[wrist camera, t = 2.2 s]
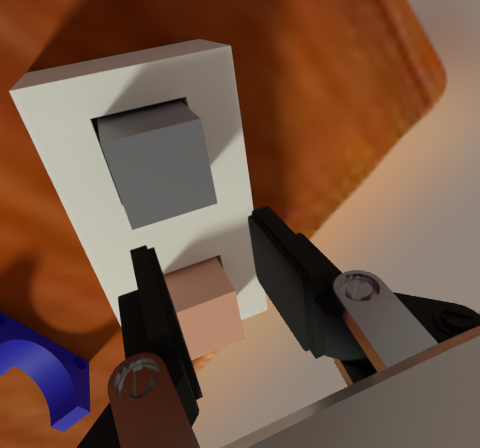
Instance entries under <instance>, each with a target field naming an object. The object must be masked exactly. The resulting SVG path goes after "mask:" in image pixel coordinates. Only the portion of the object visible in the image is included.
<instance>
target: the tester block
mask: <svg viewBox="0 0 480 448" xmlns="http://www.w3.org/2000/svg"><path fill="white" fill-rule="evenodd" d="M9 92H10V94H11V96H12V98H13V100H14V103H15V105H16V107H17V109H18V111H19V113H20V115H21V117H22V119H23V122H24V124H25V126H26V128H27V130H28V132H29V134H30V136H31V138H32V140H33V143H34V145H35V147H36V149H37V151H38V153H39V155H40V157H41V159H42V162H43V164H44V166H45V168H46V170H47V172H48V174H49V176H50V178H51V180H52V183H53V185H54V187H55V189H56V191H57V193H58V195H59V197H60V199H61V202H62V204H63V206H64V208H65V210H66V212H67V214H68V216H69V218H70V221H71V223H72V225H73V227H74V229H75V231H76V233H77V235H78V237H79V239H80V242H81V244H82V246H83V248H84V250H85V252H86V254H87V256H88V258H89V261H90V263H91V265H92V267H93V269H94V271H95V273H96V275H97V277H98V279H99V282H100V284H101V286H102V288H103V290H104V292H105V294H106V296H107V298H108V301H109V303H110V305H111V307H112V309H113V311H114V313H115V315H116V317H117V320H118V322H119V324H120V326H121V320H120V312H119V305H118V296H121V295H123V294H126V293H129V292H132V291H135V290H138V288H137V283H136V278H135V274H134V269H133V264H132V259H131V254H130V250H132V249H135V248H138V247H141V246H144V245H146V246H147V248H148V249H149V248H152V247H154V249H155V252H156V254H157V257H158V260H159V263H160V266H161V269H162V272H163V274H166V273H169V272H172V271H175V270H177V269H180V268H183V267H186V266H189V265H192V264H195V263H198V262H200V261H203V260H206V259H209V258H212V257H215V256H216V257H217V259H218V261H219V263H220V264H221V266H222V268H223V270H224V272H225V273H226V275H227V277H228V279H229V281H230V282H231V284H232V286H233V288H234V290H235V292H236V297H237V302H238V307H239V312H240V317H241V320H243V319H246V318H248V317H251V316H253V315H256V314H258V313H260V312H263V311H266V310H267V303H266V297H265V291H264V289H263V288H262V286H261V285H260V283H259V281H258V279H257V276H256V271H255V264H254V257H253V251H252V244H251V238H250V231H249V224H248V216H250V215H252V211H253V210H254V209H253V202H252V194H251V187H250V180H249V173H248V166H247V158H246V151H245V144H244V137H243V129H242V122H241V115H240V108H239V101H238V93H237V86H236V79H235V72H234V64H233V57H232V50H231V45H226V44H222V43H217V42H212V41H207V40H202V39H196V40H191V41H185V42H180V43H175V44H170V45H165V46H160V47H155V48H150V49H145V50H140V51H135V52H129V53H124V54H119V55H114V56H109V57H104V58H99V59H94V60H89V61H84V62H79V63H73V64H68V65H63V66H58V67H53V68H48V69H43V70H38V71H33V72H28V73H26V74H25V75H24V76H23V77H22V78H21V79H20V80H19V81H18V82H17V83H16V84H15V85H14V86H13V87H12V88H11V89H10V90H9ZM173 99H179V100H180V101H181V102H182V103H183V104H185V105H186V106H187V107H188V108H189V109H190V110H192V111H193V112H194V113H195V114H196V115H197V116H198V117H200V118H201V123H202V128H203V133H204V138H205V143H206V148H207V153H208V158H209V163H210V168H211V173H212V178H213V183H214V188H215V193H216V198H217V204H214V205H211V206H208V207H204V208H201V209H198V210H195V211H192V212H188V213H185V214H182V215H179V216H176V217H172V218H169V219H166V220H163V221H160V222H156V223H153V224H150V225H147V226H144V227H140V228H137V229H134V230H132V228H131V225H130V223H129V220H128V217H127V214H126V212H125V209H124V206H123V204H122V201H121V198H120V195H119V193H118V190H117V187H116V185H115V182H114V179H113V176H112V174H111V171H110V168H109V166H108V163H107V160H106V157H105V155H104V152H103V149H102V147H101V144H100V138H99V131H98V124H97V119H96V117H101V116H105V115H109V114H113V113H118V112H122V111H126V110H131V109H135V108H139V107H143V106H148V105H152V104H156V103H161V102H165V101H169V100H173Z"/></svg>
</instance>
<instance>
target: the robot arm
mask: <svg viewBox="0 0 480 448" xmlns="http://www.w3.org/2000/svg"><path fill="white" fill-rule="evenodd" d="M248 224H249V231H250V238H251V244H252V251H253V257H254V264H255V271H256V276H257V279H258V281H259V283H260V285H261V286H262V288H263V289H264V291H265V292H266V294H267V295H268V297H269V298H270V300H271V301H272V303H273V304H274V306H275V307H276V309H277V310H278V312H279V313H280V315H281V316H282V317H283V319H284V321H285V322H286V324H287V325H288V327H289V328H290V330H291V331H292V333H293V334H294V336H295V337H296V339H297V340H298V342H299V343H300V345H301V346H302V348H303V349H304V350H305V351H308V350H310V351H311V352H312V354H313V355H314V357H315V358H316V359H317V358H318V357H321V356H323V355H326V356H328V357H332V358H333V359H334V361H335V364H336V366H337V368H338V369H339V371H340V373H341V375H342V377H343V378H344V380H345V382H346V384H347V386H348V387H346V388H344V389H342V390H340V391H338V392H336V393H334V394H332V395H329V396H327V397H325V398H323V399H322V400H319V401H317V402H315V403H313V404H311V405H309V406H307V407H304V408H302V409H300V410H298V411H296V412H294V413H292V414H290V415H288V416H286V417H284V418H282V419H280V420H277V421H275V422H273V423H271V424H269V425H267V426H265V427H263V428H261V429H259V430H257V431H255V432H253V433H251V434H249V435H246V436H244V437H242V438H240V439H238V440H236V441H234V442H232V443H230V444H228V445H226V446H224V447H222V448H480V314H478V313H476V312H475V311H474V310H472V309H470V308H468V307H465V306H463V305H458V304H455V303H449V302H444V301H439V300H433V299H428V298H422V297H416V296H410V295H405V294H400V293H394V292H392V291H391V290H390V289H389V288H388V287H387V285H386V284H385V283H384V282H383V281H382V280H381V279H380V278H379V277H377V276H376V275H374V274H372V273H370V272H365V271H360V270H353V271H347V272H345V273H342V272H341V271H340V270H339V269H338V268H337V267H336V266H335V265H333V263H332V262H330V260H329V259H328V258H327V257H326V256H325V255H323V253H322V252H320V250H319V249H318V248H316V247H315V246H314V245H313V244H312V243H311V242H310V241H309V240H308V239H307V238H306V237H305V236H304V235H303V234H302V233H297V234H295V233H294V232H293V231H292V230H291V229H290V228H289V227H288V226H287V225H286V224H285V223H284V222H283V221H282V220H281V219H280V218H279V217H278V216H277V215H276V214H275V213H274V212H273V211H272V210H271V209H270V208H269V207H268V206H265V207H262V208H258V209H255V210H253V211H252V215H250V216H248ZM130 254H131V259H132V264H133V269H134V274H135V278H136V283H137V288H138V290H135V291H132V292H129V293H126V294H123V295H121V296H118V305H119V312H120V320H121V328H122V336H123V344H124V351H125V359H126V360H124V361H123V362H121V363H120V364H119V365H118V366H117V367H116V368H115V370H114V371H113V373H112V374H111V376H110V379H109V382H108V395H109V399H110V403H109V404H108V405H107V407H106V408H105V410H104V411H103V412H102V414H101V415H100V416H99V418H98V419H97V421H96V422H95V423H94V425H93V426H92V427H91V429H90V430H89V432H88V433H87V434H86V436H85V437H84V438H83V440H82V441H81V442H80V444H79V445H78V447H77V448H200V446H199V444H198V441H197V439H196V437H195V434H194V432H193V430H192V426H193V424H194V422H195V420H196V418H197V416H198V414H199V412H198V411H199V408H198V404H197V401H196V400H197V399H199V398H201V397H203V396H202V392H201V389H200V386H199V383H198V380H197V377H196V373H195V370H194V367H193V364H192V361H191V358H190V355H189V351H188V348H187V345H186V342H185V339H184V336H183V333H182V329H181V326H180V323H179V320H178V317H177V314H176V311H175V308H174V305H173V302H172V299H171V296H170V293H169V290H168V287H167V284H166V281H165V278H164V275H163V272H162V269H161V266H160V263H159V260H158V257H157V254H156V252H155V249H154V247H152V248H149V249H148V248H147V246H146V245H144V246H141V247H138V248H135V249H132V250H130Z"/></svg>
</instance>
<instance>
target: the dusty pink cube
mask: <svg viewBox="0 0 480 448" xmlns="http://www.w3.org/2000/svg"><path fill="white" fill-rule="evenodd" d="M163 275H164V278H165V281H166V284H167V287H168V290H169V293H170V296H171V299H172V302H173V305H174V308H175V311H176V314H177V317H178V320H179V323H180V326H181V329H182V333H183V336H184V339H185V342H186V345H187V348H188V351H189V355H190V358H191V360H193V359H196V358H198V357H201V356H203V355H206V354H208V353H210V352H213V351H215V350H218V349H220V348H223V347H225V346H227V345H230V344H232V343H235V342H237V341H239V340H242V339H244V338H245V337H244V332H243V328H242V322H241V317H240V312H239V307H238V302H237V297H236V292H235V290H234V288H233V286H232V284H231V282H230V281H229V279H228V277H227V275H226V273H225V272H224V270H223V268H222V266H221V264H220V263H219V261H218V259H217V257H216V256H215V257H212V258H209V259H206V260H203V261H200V262H198V263H195V264H192V265H189V266H186V267H183V268H180V269H177V270H175V271H172V272H169V273H166V274H163Z"/></svg>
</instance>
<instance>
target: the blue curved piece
mask: <svg viewBox="0 0 480 448" xmlns="http://www.w3.org/2000/svg"><path fill="white" fill-rule="evenodd" d="M14 366H16V367H18V368H19V369H21V370H23V371H24V372H25V373H27V374H28V375H29V376H30V377H31V378H32V379H33V380H34V381H35V382H36V383H37V385H38V386H39V387H40V389H41V391H42V392H43V394H44V396H45V398H46V401H47V404H48V407H49V411H50V417H51V427H52V428H55V429H58V430H60V431H63V432H64V431H66V430H67V429H68V428H70V427H71V426H72V425H74V424H75V423H76V422H78V421H79V420H80V419H82V418H83V417H84V416H85V415H87V414H88V413H89V412H90V383H89V362H88V361H86V360H84V359H83V358H81V357H79V356H77V355H76V354H74V353H72V352H70V351H68V350H67V349H65V348H63V347H61V346H60V345H58V344H56V343H54V342H52V341H51V340H49V339H47V338H45V337H44V336H42V335H40V334H38V333H37V332H35V331H33V330H31V329H29V328H28V327H26V326H24V325H22V324H21V323H19V322H17V321H15V320H14V319H12V318H10V317H8V316H6V315H5V314H3V313H1V312H0V375H1V376H2V375H3V374H4V373H6V372H7V371H8V370H10V369H11V368H12V367H14Z"/></svg>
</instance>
